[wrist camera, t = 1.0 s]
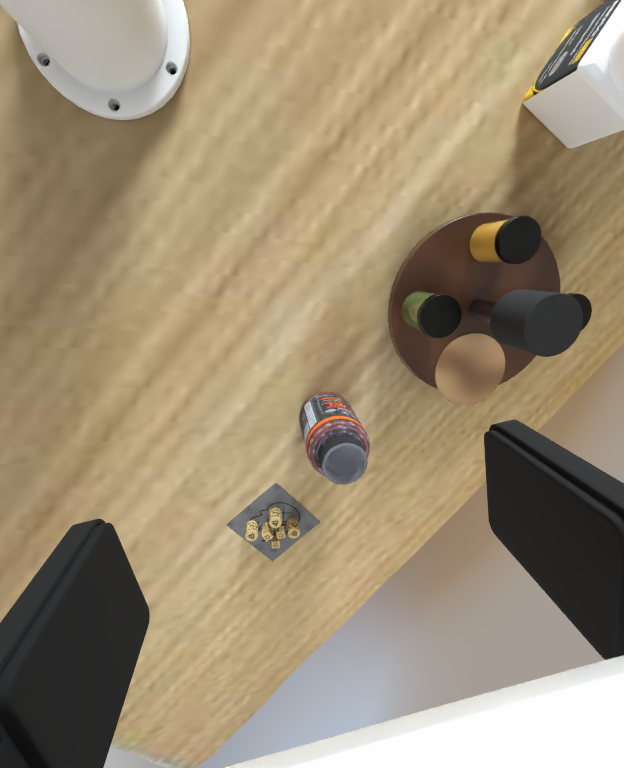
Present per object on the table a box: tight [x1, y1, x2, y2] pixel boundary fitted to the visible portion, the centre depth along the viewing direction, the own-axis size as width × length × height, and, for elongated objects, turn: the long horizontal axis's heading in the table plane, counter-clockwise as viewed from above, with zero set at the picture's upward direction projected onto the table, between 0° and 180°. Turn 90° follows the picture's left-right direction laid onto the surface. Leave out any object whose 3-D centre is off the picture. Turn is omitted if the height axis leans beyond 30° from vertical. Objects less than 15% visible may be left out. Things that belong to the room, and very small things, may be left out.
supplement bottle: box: [300, 392, 370, 484], centre depth 38 cm, size 6×6×11 cm
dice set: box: [244, 507, 301, 550], centre depth 46 cm, size 5×5×2 cm
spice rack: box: [388, 212, 592, 404], centre depth 34 cm, size 19×18×12 cm
